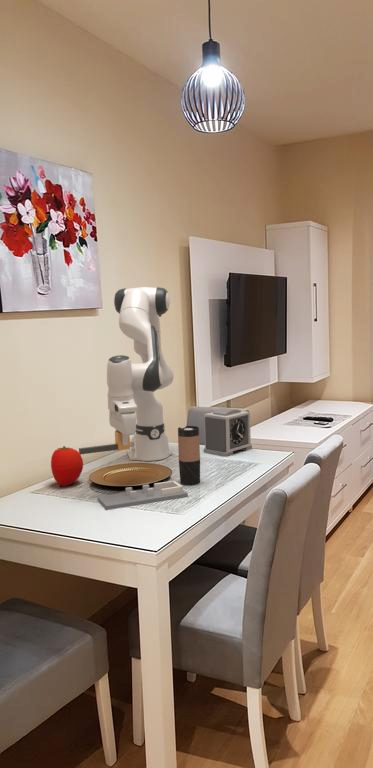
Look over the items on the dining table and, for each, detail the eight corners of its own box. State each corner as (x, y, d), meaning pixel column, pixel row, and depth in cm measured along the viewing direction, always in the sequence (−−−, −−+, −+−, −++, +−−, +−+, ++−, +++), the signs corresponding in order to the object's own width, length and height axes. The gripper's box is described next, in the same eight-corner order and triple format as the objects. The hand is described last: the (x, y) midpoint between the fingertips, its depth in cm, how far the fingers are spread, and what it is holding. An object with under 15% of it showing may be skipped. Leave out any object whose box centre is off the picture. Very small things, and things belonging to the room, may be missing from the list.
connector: (126, 446, 217) (125, 429, 216) (130, 449, 214) (129, 431, 213) (78, 452, 211) (77, 435, 210) (81, 455, 207) (80, 437, 206)
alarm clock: (226, 457, 258) (224, 413, 256) (202, 452, 267) (201, 410, 265) (253, 448, 272) (252, 407, 269) (229, 444, 281) (228, 404, 278)
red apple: (61, 478, 235) (59, 441, 233) (89, 479, 232) (87, 442, 230) (45, 488, 223) (43, 449, 221) (74, 490, 220) (72, 450, 218)
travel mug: (198, 486, 220) (196, 430, 217) (177, 485, 221) (175, 430, 218) (202, 479, 227) (200, 425, 224) (182, 479, 229) (180, 425, 226)
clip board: (97, 500, 208) (97, 489, 207) (175, 487, 218) (175, 477, 218) (106, 509, 198) (105, 498, 197) (187, 496, 208) (187, 486, 208)
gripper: (104, 400, 221) (105, 438, 223) (120, 409, 202) (122, 450, 204) (121, 398, 223) (122, 436, 225) (138, 407, 205) (140, 448, 206)
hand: (122, 443), depth 214 cm, fingers closed on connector, 4 cm apart
